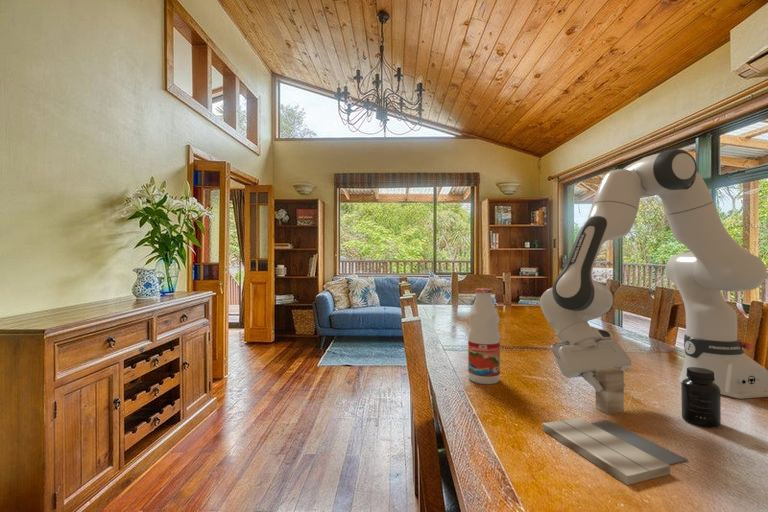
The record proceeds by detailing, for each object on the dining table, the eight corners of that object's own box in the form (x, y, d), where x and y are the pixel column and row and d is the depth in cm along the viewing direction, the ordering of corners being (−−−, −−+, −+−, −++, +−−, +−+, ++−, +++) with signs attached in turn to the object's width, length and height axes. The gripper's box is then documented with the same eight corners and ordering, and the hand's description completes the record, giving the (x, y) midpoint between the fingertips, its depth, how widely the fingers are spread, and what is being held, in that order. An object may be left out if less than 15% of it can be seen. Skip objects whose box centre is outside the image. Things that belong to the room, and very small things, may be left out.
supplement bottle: (681, 412, 89) (681, 363, 89) (719, 421, 84) (719, 369, 84) (681, 423, 83) (681, 370, 83) (721, 432, 79) (722, 377, 79)
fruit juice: (501, 376, 115) (501, 287, 115) (497, 386, 107) (497, 290, 106) (471, 372, 119) (471, 286, 119) (465, 382, 110) (465, 289, 110)
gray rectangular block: (595, 408, 92) (595, 368, 91) (610, 405, 93) (610, 366, 93) (607, 414, 88) (607, 372, 88) (623, 411, 90) (623, 370, 90)
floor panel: (542, 430, 81) (542, 423, 81) (578, 423, 84) (578, 416, 84) (627, 485, 61) (627, 475, 61) (670, 474, 64) (670, 465, 64)
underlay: (584, 425, 83) (583, 424, 83) (607, 420, 85) (607, 420, 85) (660, 467, 66) (660, 466, 66) (688, 460, 69) (688, 459, 69)
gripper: (554, 336, 94) (585, 388, 85) (615, 331, 100) (650, 378, 91) (542, 349, 98) (570, 400, 89) (601, 343, 104) (633, 389, 95)
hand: (611, 389), depth 90 cm, fingers closed on gray rectangular block, 5 cm apart
